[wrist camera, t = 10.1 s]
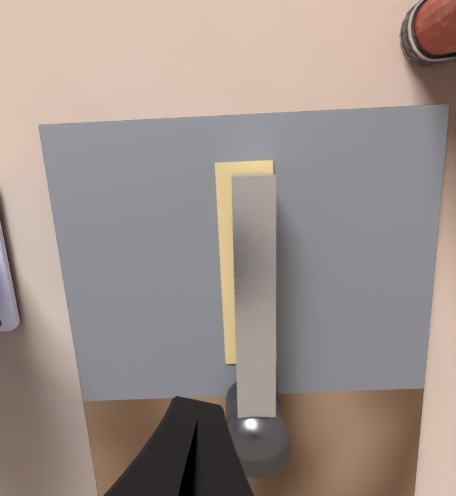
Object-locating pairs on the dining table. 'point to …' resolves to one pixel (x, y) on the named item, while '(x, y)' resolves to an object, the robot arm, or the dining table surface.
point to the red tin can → (430, 32)
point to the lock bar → (255, 329)
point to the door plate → (221, 247)
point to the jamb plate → (290, 441)
